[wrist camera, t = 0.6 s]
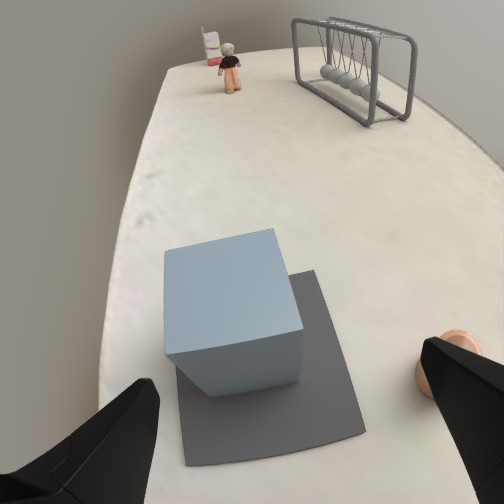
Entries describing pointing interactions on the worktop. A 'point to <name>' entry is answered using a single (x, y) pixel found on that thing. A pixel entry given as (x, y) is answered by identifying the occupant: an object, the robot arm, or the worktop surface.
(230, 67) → the grandmother figurine
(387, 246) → the worktop surface
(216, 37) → the ink cartridge box
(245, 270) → the cover
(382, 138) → the worktop surface
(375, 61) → the newton's cradle
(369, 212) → the worktop surface
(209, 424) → the mat
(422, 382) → the bowl
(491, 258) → the worktop surface
